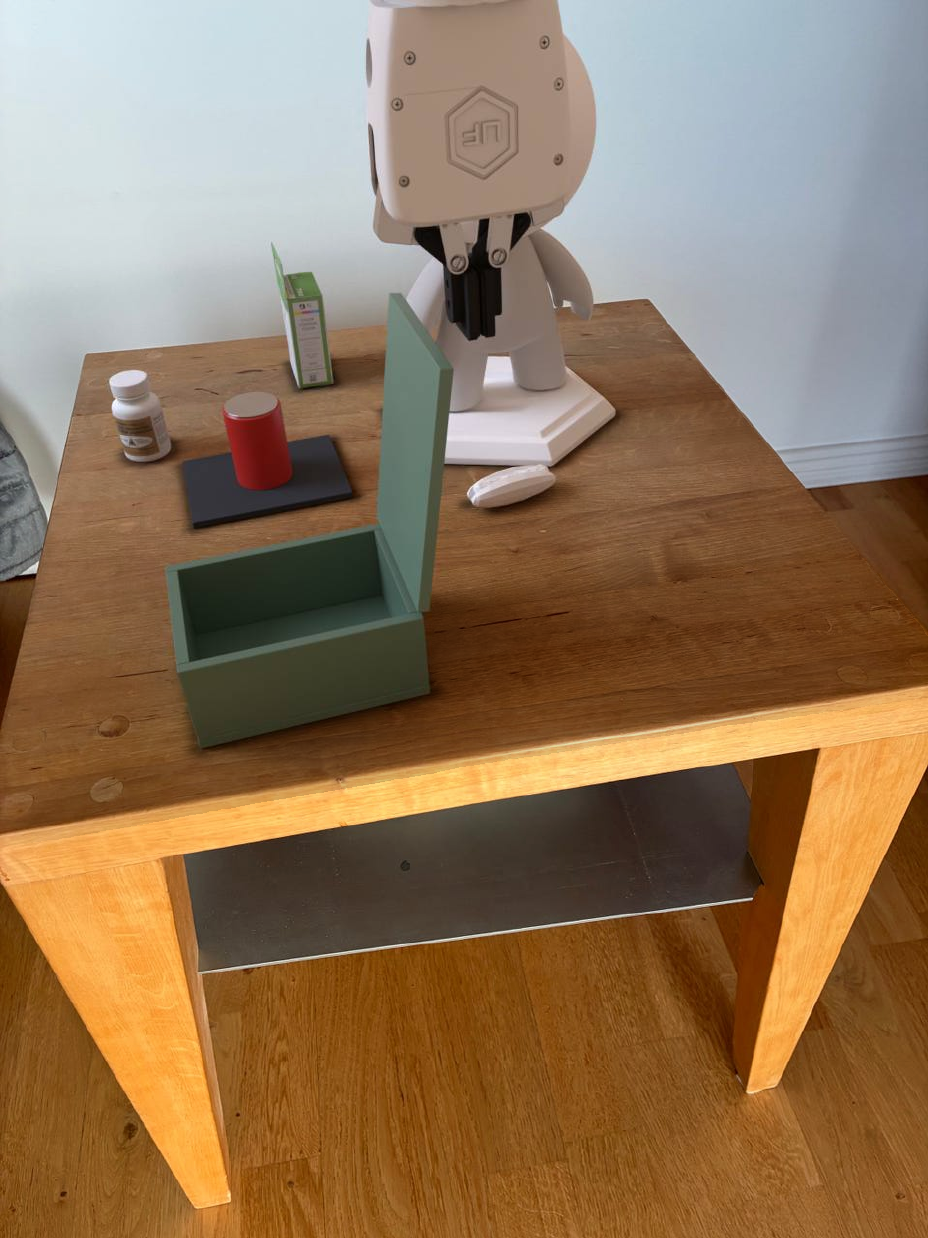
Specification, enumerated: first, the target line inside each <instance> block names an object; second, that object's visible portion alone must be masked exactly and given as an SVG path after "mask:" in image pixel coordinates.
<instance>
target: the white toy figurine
mask: <svg viewBox="0 0 928 1238" xmlns="http://www.w3.org/2000/svg"><path fill="white" fill-rule="evenodd" d="M563 40H564V50H565V59H566V69H567V81H568V93H569V110H570V130H571V178H570V186H569V190H568V192H567V194H566V195H565V197H564V198H563V200H564V206H565V208H566V207H567V205H569V203H570V202H571V201H572V199H573V198H574V196H575V194H576V193H577V191H578V190H579V188H580V186H581V185H582V183H583V181H584V178H585V176H586V174H587V172H588V169H589V167H590V163H591V160H592V157H593V153H594V148H595V143H596V136H597V135H596V134H597V108H596V107H597V106H596V99H595V94H594V90H593V85H592V82H591V79H590V76H589V73H588V70H587V68H586V65H585V64H584V61H583V59H582V58H581V56H580V54H579V52H578V51H577V49H576V48H575V46H574V44H573V43H572V41H571V40H570V39H569V38H568V37H567V36H566V35H565V34H564V33H563ZM554 219H555V218H553V219H550V220H548V221H546V222H543V223H541V224H539V225H536V226H531V227H529V228H528V230H527V231H526V232H525V234H524V235H523V236H522V237H521V239H520V240H519V241H518V242H517V244H516V245H515V246H514V247H513V249H512V250H511V251H510V253H509V259H508V262H507V263H506V264H505V265H504V266H503V267H501V281H502V314H501V315H499V316H495V330H496V334H495V336H494V337H489V338H485V336H482V335H481V336H480V337H478V339H477V340H472V341H468V340H467V338H466V337H465V336H464V334H463V333H462V332H461V330H460V329H459V328H458V326H457V325H456V323H451V322H450V321H449V319H448V317H447V313H446V306H445V290H444V274H443V264H442V263H440V262H439V261H438V260H437V259H436V258H434V257H433V256H432V258H431V259H430V261H429V262H428V263H427V264H426V266H424V268H423V270H422V271H421V273H420V274H419V276H418V277H417V279H416V281H415V282H414V284H413V285H412V287H411V289H410V290H409V292H408V293H407V296H406V298H405V299H406V301H407V302H408V304H409V305H410V307H411V308H412V310H413V311H414V312H415V314H416V315H417V317H418V318H419V320H420V321H421V323H422V324H423V326H424V327H425V328H426V330H427V331H428V333H429V334H430V335H432V333H433V331H434V330H435V328H436V326H437V330H436V335H435V339H434V341H435V343H436V344H437V346H438V347H439V349H440V350H441V352H442V353H443V354H444V356H445V357H446V359H447V360H448V362H449V363H450V365H451V366H452V367H453V369H454V372H453V382H452V392H451V402H450V412H449V422H448V431H447V441H446V451H445V461H444V465H469V466H470V465H471V466H472V465H477V466H509V467H510V466H511V467H512V466H513V467H520V466H530V465H534V466H537V465H544V466H547V467H548V468H549V467H553V466H554V465H556V464H557V463H558V462H559V461H561V460H562V459H563V458H564V457H566V456H567V455H568V454H569V453H571V452H572V451H573V450H574V449H576V448H577V447H578V446H580V445H581V444H582V443H584V442H585V440H587V439H589V438H590V437H591V436H592V435H593V434H595V433H596V432H597V431H598V430H599V429H601V428H602V427H603V426H604V425H605V424H607V423H608V422H609V421H610V420H612V419H613V418H614V417H615V416H616V409H615V408H614V406H613V405H612V404H611V403H610V402H609V401H608V399H606V398H605V397H604V396H603V395H602V394H601V393H600V392H598V391H597V390H596V389H594V388H593V387H592V386H591V385H590V384H589V383H587V382H586V381H585V380H584V379H582V378H581V377H580V376H579V375H577V374H576V373H575V372H574V371H573V370H572V369H570V368H569V367H568V366H567V365H566V362H565V361H566V360H565V355H564V354H565V353H564V348H563V343H562V337H561V336H562V335H561V332H560V328H559V323H558V319H557V318H558V317H557V315H556V314H557V313H556V310H555V308H556V309H558V310H559V309H562V308H563V307H564V301H566V302H569V303H570V304H569V305H570V311H571V312H572V313H573V314H575V315H576V316H577V317H578V318H580V319H581V320H582V321H584V322H586V323H587V322H588V323H589V322H590V321H591V319H592V316H593V314H594V307H595V305H594V293H593V290H592V286H591V284H590V281H589V278H588V276H587V275H586V273H585V271H584V269H583V268H582V267H581V265H580V264H579V262H578V261H577V259H576V258H575V257H574V256H573V255H572V253H571V252H570V251H569V250H568V249H567V248H566V246H565V245H563V244H562V242H561V241H559V240H558V239H557V238H556V237H555V236H553V235H552V234H551V233H549V232H548V231H547V230H545V229H543V227H545V226H546V225H547V224H549V223H550V222H551V221H552V220H554ZM461 225H462V230H463V235H464V240H465V245H466V251H467V255H468V253H471V252H472V247H473V246H474V237H475V226H476V220H472V221H465V222H461ZM437 324H438V325H437ZM502 353H508V354H509V355H508V356H495V355H494V356H491V355H490V356H489V354H502Z"/></svg>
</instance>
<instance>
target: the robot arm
mask: <svg viewBox="0 0 928 1238" xmlns="http://www.w3.org/2000/svg"><path fill="white" fill-rule="evenodd" d="M367 13H368V14H367V15H368V16H367V27H366V48H365V49H366V50H365V105H366V106H365V108H366V136H367V137H366V139H367V153H368V166H369V175H370V181H371V187H372V191H373V193H374V196H375V206H374V213H373V221H372V230H373V233H374V234H375V235H376V236H377V238H378V239H379V240H380V241H381V242H382V243H384V244H385V243H386V244H393V245H404V246H420V247H421V248H422V249H423V250H425V251H426V252H428V253H429V255H430V256H432V258H433V257H434V258H436V259H437V260H438V261H439V262H440V263H442V264H443V274H444V290H445V306H446V313H447V317H448V319H449V321H450V322H451V323H456V325H457V326H458V328H459V329H460V330H461V332H462V333H463V334H464V336H465V337H466V338H467V340H468V341H472V340H477V339H478V337H480V336H481V335H482V336H485V338H489V337H494V336H495V334H496V330H495V316H499V315H501V314H502V281H501V267H503V266H504V265H505V264H506V263H507V262H508V259H509V253H510V251H511V250H512V249H513V247H514V246H515V245H516V244H517V242H518V241H519V240H520V239H521V237H522V236H523V235H524V234H525V232H526V231H527V230H528V228H529V227H531V226H536V225H539V224H541V223H543V222H546V221H548V220H550V219H552V220H554V219H555V218H558V217H559V216H561V215H562V214H563V212H564V211H565V208H566V207H565V206H564V200H563V198H564V197H565V195H566V194H567V192H568V190H569V186H570V178H571V130H570V110H569V93H568V81H567V69H566V59H565V50H564V40H563V34H564V33H563V25H562V24H563V23H562V18H561V12H560V5H559V0H369V6H368V12H367ZM553 218H554V219H553ZM472 220H476V226H475V237H474V246H473V247H472V252H471V253H468V255H467V251H466V245H465V240H464V235H463V230H462V225H461V222H465V221H472Z"/></svg>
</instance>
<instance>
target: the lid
mask: <svg viewBox="0 0 928 1238" xmlns="http://www.w3.org/2000/svg"><path fill="white" fill-rule="evenodd" d="M387 307H388V309H387V322H386V323H387V324H386V343H385V357H384V378H383V395H382V412H381V413H382V415H381V432H380V434H381V435H380V449H379V452H380V453H379V468H378V484H377V485H378V486H377V501H376V504H377V505H376V519H377V522H378V523H379V524H380V526H381V528H382V531H383V533H384V535H385V538H386V540H387V542H388V545H389V547H390V549H391V552H392V554H393V556H394V559H395V561H396V563H397V566H398V568H399V570H400V572H401V575H402V577H403V579H404V582H405V584H406V586H407V589H408V591H409V593H410V596H411V598H412V600H413V603H414V605H415V607H416V610H417V612H421V613H426V612H428V613H429V612H430V609H431V597H432V589H433V579H434V570H435V569H434V568H435V560H436V559H435V558H436V549H437V539H438V530H439V529H438V528H439V519H440V509H441V501H442V491H443V481H444V471H445V470H444V469H445V464H444V461H445V451H446V441H447V431H448V422H449V412H450V402H451V392H452V382H453V372H454V369H453V367H452V366H451V365H450V363H449V362H448V360H447V359H446V357H445V356H444V354H443V353H442V352H441V350H440V349H439V347H438V346H437V344H436V343H435V339H433V337H432V335H431V334H429V333H428V331H427V330H426V328H425V327H424V326H423V324H422V323H421V321H420V320H419V318H418V317H417V315H416V314H415V312H414V311H413V310H412V308H411V307H410V305H409V304H408V302H407V301H406V298H405V297H404V295H403V294H402V293H401V292H388V306H387Z"/></svg>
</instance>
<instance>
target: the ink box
mask: <svg viewBox="0 0 928 1238" xmlns="http://www.w3.org/2000/svg"><path fill="white" fill-rule="evenodd" d="M270 246H271V252H272V257H273V263H274V268H275V275H276V280H277V287H278V291H279V296H280V302H281V310H282V316H283V321H284V322H283V323H284V328H285V334H286V339H287V345H288V346H287V347H288V352H289V362H290V366H291V369H292V373H293V375H294V378H295V381H296V385H297V387H298V388H299V389H307V388H311V387H323V386H329V385H332V384H334V383H335V381H334V378H333V377H334V376H333V369H332V359H331V352H330V345H329V344H330V343H329V336H328V335H329V334H328V327H327V320H326V319H327V318H326V312H325V311H326V310H325V303H324V296H323V293H322V291H321V289H320V287H319V285H318V282H317V280H316V277H315V275H314V273H313V271H304V272H303V271H302V272H301V271H299V272H294V273H288V274H284V269H283V263H282V260H281V259H280V257H279V254H278V252H277V251H276V248H275V245H274V243H273V242H272V241H271V242H270Z"/></svg>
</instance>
